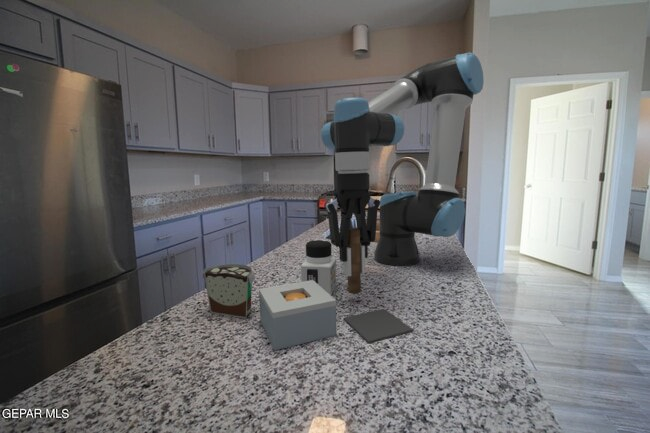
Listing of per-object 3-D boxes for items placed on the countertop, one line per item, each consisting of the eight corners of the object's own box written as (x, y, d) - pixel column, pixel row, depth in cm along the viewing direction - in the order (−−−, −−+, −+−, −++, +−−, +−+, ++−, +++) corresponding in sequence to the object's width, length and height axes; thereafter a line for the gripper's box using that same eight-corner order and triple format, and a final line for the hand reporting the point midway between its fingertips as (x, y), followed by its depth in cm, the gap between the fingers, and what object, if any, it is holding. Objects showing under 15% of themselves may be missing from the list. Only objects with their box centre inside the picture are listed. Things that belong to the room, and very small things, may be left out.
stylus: (356, 287, 76) (355, 227, 73) (363, 292, 73) (362, 229, 71) (345, 290, 75) (344, 229, 72) (351, 294, 72) (350, 231, 70)
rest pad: (383, 310, 69) (383, 308, 69) (413, 331, 60) (413, 329, 60) (343, 319, 65) (343, 317, 65) (368, 343, 56) (368, 341, 56)
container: (331, 296, 77) (330, 245, 75) (301, 294, 79) (299, 244, 77) (336, 284, 85) (335, 238, 83) (308, 283, 86) (307, 237, 85)
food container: (267, 307, 72) (265, 265, 70) (252, 319, 66) (250, 274, 65) (222, 301, 76) (219, 261, 74) (205, 311, 70) (201, 269, 69)
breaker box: (313, 309, 70) (312, 279, 69) (336, 335, 59) (336, 300, 58) (260, 320, 65) (258, 288, 64) (274, 350, 55) (272, 312, 53)
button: (302, 305, 64) (301, 291, 64) (308, 313, 61) (308, 298, 60) (283, 309, 63) (282, 294, 62) (289, 317, 59) (288, 302, 59)
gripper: (374, 170, 76) (374, 263, 80) (312, 173, 70) (316, 273, 74) (392, 170, 69) (391, 272, 73) (326, 173, 63) (329, 284, 67)
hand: (354, 272), depth 73 cm, fingers closed on stylus, 3 cm apart
